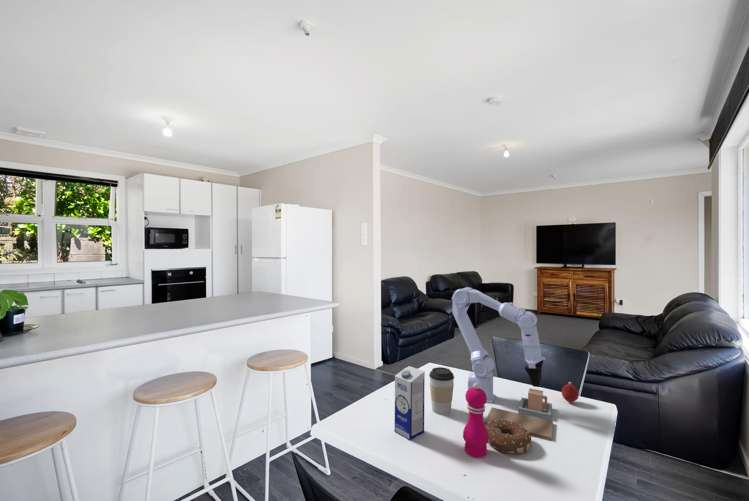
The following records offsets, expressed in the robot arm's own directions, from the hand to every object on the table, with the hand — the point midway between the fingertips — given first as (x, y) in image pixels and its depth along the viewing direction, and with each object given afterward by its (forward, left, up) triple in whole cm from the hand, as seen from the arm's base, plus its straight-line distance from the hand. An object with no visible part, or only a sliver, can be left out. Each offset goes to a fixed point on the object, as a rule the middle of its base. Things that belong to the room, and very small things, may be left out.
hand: (537, 383), depth 127 cm
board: (-4, -14, -10) cm, 18 cm away
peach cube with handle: (0, 0, -10) cm, 10 cm away
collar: (0, 0, -10) cm, 10 cm away
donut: (-6, -28, -11) cm, 31 cm away
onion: (+11, +14, -10) cm, 20 cm away
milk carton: (-34, -37, -10) cm, 52 cm away
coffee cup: (-30, -17, -10) cm, 36 cm away
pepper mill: (-13, -37, -10) cm, 41 cm away
